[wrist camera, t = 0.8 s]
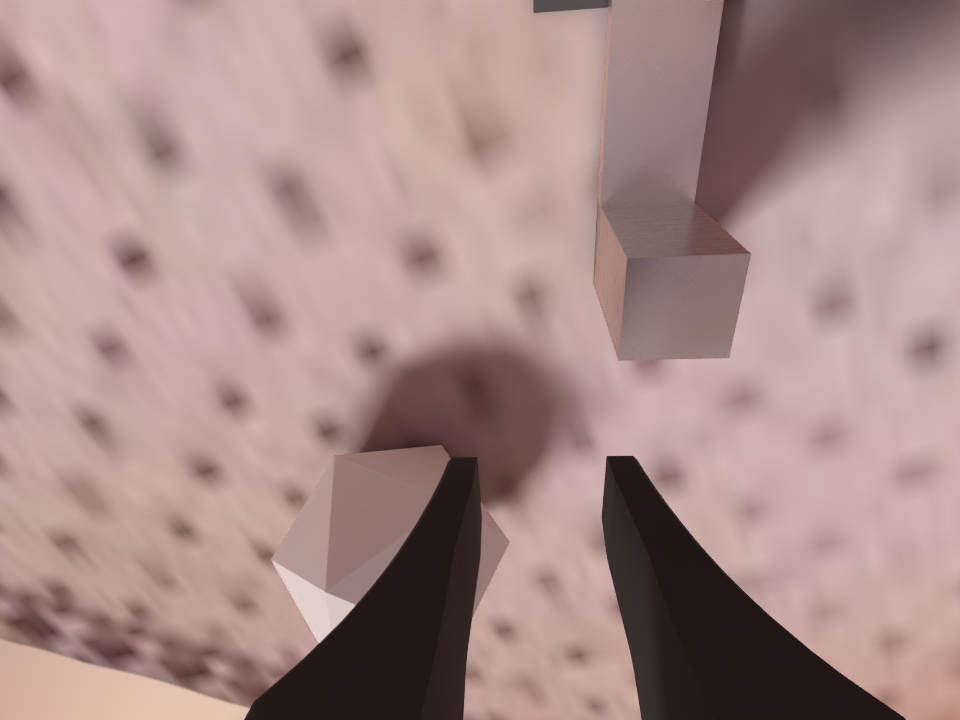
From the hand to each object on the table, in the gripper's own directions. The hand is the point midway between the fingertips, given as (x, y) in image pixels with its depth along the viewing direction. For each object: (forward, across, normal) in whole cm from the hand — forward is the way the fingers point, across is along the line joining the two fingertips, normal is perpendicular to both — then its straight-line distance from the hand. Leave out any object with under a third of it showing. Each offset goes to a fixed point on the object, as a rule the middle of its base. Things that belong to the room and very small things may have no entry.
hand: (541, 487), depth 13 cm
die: (+10, +6, +9) cm, 14 cm away
